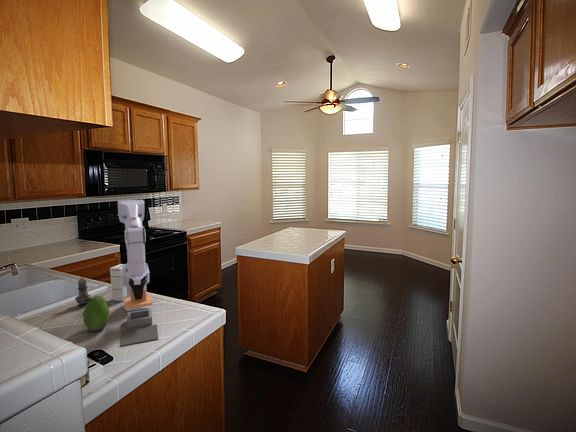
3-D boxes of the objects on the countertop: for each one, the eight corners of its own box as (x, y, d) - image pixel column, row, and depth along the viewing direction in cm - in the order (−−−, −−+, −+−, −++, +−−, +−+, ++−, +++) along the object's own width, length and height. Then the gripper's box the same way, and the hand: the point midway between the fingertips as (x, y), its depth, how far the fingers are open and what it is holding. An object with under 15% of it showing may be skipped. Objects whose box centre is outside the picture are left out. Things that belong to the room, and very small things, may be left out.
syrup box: (123, 301, 136) (121, 268, 134) (111, 300, 137) (109, 267, 136) (132, 296, 142) (131, 264, 140) (121, 295, 143) (119, 263, 141)
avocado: (115, 324, 115) (113, 292, 114) (99, 335, 108) (97, 301, 106) (95, 323, 117) (92, 291, 115) (78, 333, 109) (75, 299, 107)
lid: (125, 302, 119) (124, 287, 118) (152, 298, 122) (151, 283, 122) (124, 311, 111) (123, 295, 110) (152, 307, 114) (152, 291, 113)
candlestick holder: (81, 302, 135) (79, 274, 134) (95, 302, 135) (93, 274, 133) (72, 308, 129) (69, 279, 128) (86, 308, 129) (84, 279, 128)
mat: (122, 331, 111) (122, 329, 111) (156, 325, 115) (156, 324, 115) (120, 346, 101) (120, 345, 101) (158, 339, 106) (158, 338, 105)
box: (128, 320, 119) (127, 312, 119) (151, 316, 123) (151, 308, 122) (127, 329, 112) (126, 321, 112) (152, 325, 115) (151, 317, 115)
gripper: (149, 265, 109) (151, 303, 111) (148, 255, 122) (150, 289, 124) (126, 267, 106) (128, 306, 108) (127, 257, 120) (129, 292, 121)
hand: (138, 297), depth 116 cm, fingers closed on lid, 2 cm apart
